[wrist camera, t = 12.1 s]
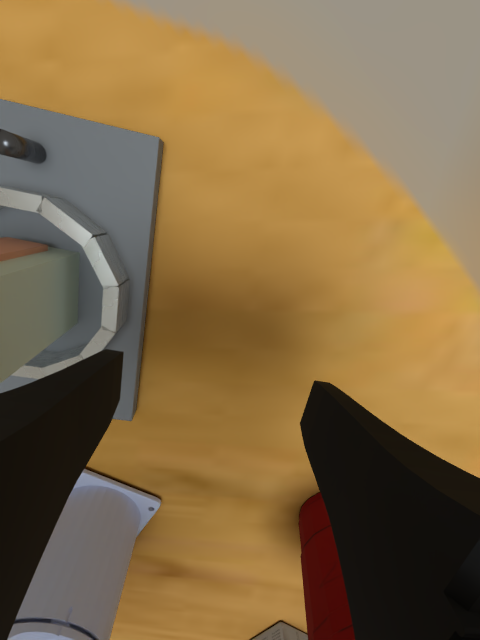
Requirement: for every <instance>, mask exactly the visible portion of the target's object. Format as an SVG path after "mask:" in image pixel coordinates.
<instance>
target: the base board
mask: <svg viewBox="0 0 480 640" xmlns="http://www.w3.org/2000/svg"><path fill="white" fill-rule="evenodd" d="M0 129H3V130H6V131H8V132H11V133H14V134H16V135H19V136H22V137H24V138H27V139H30V140H32V141H35V142H38V143H40V144H41V145H42V146H43V147H44V148H45V150H46V155H47V156H46V160H45V161H44V162H43V163H41V164H36V163H32V162H28V161H24V160H20V159H16V158H13V157H9V156H5V155H1V154H0V186H7V187H13V188H18V189H23V190H28V191H32V192H37V193H42V194H47V195H52V196H56V197H61V198H63V199H66V200H67V201H68V202H70V203H71V204H72V205H73V206H75V207H76V208H77V209H79V210H80V211H81V212H82V213H84V214H85V215H86V216H87V217H89V218H90V219H91V220H92V221H94V222H95V223H96V224H97V225H99V226H100V227H101V228H103V229H104V230H105V231H106V232H107V233H106V235H107V234H109V236H110V238H111V240H112V242H113V244H114V246H115V248H116V250H117V252H118V255H119V257H120V259H121V261H122V263H123V265H124V267H125V269H126V271H127V273H128V275H129V278H128V279H130V283H129V295H128V308H127V320H126V322H125V323H124V324H123V325H122V327H121V328H120V329H119V330H118V332H117V333H116V334H115V335H114V337H113V338H112V339H111V340H110V342H109V343H108V344H107V345H106V347H105V348H104V349H103V350H105V349H109V350H116V351H122V352H124V355H123V368H122V381H121V393H120V401H119V403H118V406H117V408H116V411H115V413H114V416H113V418H112V419H119V420H127V421H132V419H133V416H134V414H135V412H136V407H137V397H138V387H139V377H140V368H141V358H142V348H143V338H144V329H145V319H146V309H147V299H148V289H149V280H150V270H151V260H152V250H153V241H154V231H155V221H156V211H157V202H158V192H159V182H160V172H161V163H162V153H163V141H162V140H161V139H160V138H159V137H155V136H151V135H147V134H142V133H138V132H134V131H130V130H126V129H122V128H118V127H114V126H109V125H105V124H101V123H97V122H93V121H89V120H85V119H81V118H76V117H72V116H68V115H64V114H60V113H56V112H52V111H48V110H43V109H39V108H35V107H31V106H27V105H23V104H19V103H15V102H10V101H6V100H2V99H0ZM0 237H10V238H15V239H20V240H25V241H31V242H36V243H41V244H46V245H48V247H53V248H58V249H64V250H69V251H74V252H79V253H80V260H79V292H78V323H77V324H76V325H75V326H73V327H72V328H71V329H69V330H68V331H67V332H66V333H64V334H63V335H62V336H60V337H59V338H58V339H57V340H55V341H54V342H53V343H51V344H50V345H49V346H48V347H46V348H45V349H44V350H48V351H55V352H62V351H65V350H68V349H71V348H74V347H77V346H80V345H83V344H86V343H89V342H90V341H91V339H92V338H93V337H94V336H95V334H96V333H97V332H98V331H99V329H100V328H101V320H102V300H103V286H102V284H101V282H100V280H99V279H98V277H97V275H96V273H95V271H94V269H93V267H92V265H91V263H90V261H89V259H88V257H87V255H86V253H85V251H84V250H83V248H82V246H81V245H80V244H79V243H78V242H76V241H75V240H74V239H72V238H71V237H70V236H68V235H67V234H66V233H64V232H63V231H62V230H60V229H59V228H58V227H56V226H55V225H54V224H53V223H51V222H50V221H49V220H47V219H46V218H45V217H43V216H42V215H41V214H39V213H36V212H31V211H26V210H21V209H16V208H11V207H4V208H2V209H0ZM36 380H38V379H34V378H27V377H19V376H12V375H10V376H9V377H8V378H6V379H5V380H4V381H3V382H1V383H0V393H3V392H6V391H9V390H12V389H15V388H18V387H21V386H23V385H26V384H29V383H31V382H34V381H36Z"/></svg>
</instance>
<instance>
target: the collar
mask: <svg viewBox="0 0 480 640" xmlns="http://www.w3.org/2000/svg"><path fill="white" fill-rule="evenodd" d="M0 154H1V155H5V156H9V157H13V158H16V159H20V160H24V161H28V162H32V163H36V164H41V163H43V162H44V161H45V160H46V156H47V155H46V150H45V148H44V147H43V146H42V145H41V144H40V143H38V142H35V141H32V140H30V139H27V138H24V137H22V136H19V135H16V134H14V133H11V132H8V131H6V130H3V129H0ZM4 207H11V208H16V209H21V210H26V211H31V212H36V213H39V214H41V215H42V216H43V217H45V218H46V219H47V220H49V221H50V222H51V223H53V224H54V225H55V226H56V227H58V228H59V229H60V230H62V231H63V232H64V233H66V234H67V235H68V236H70V237H71V238H72V239H74V240H75V241H76V242H78V243H79V244H80V245H81V246H82V248H83V250H84V251H85V253H86V255H87V257H88V259H89V261H90V263H91V265H92V267H93V269H94V271H95V273H96V275H97V277H98V279H99V280H100V282H101V284H102V286H103V300H102V320H101V328H100V329H99V331H98V332H97V333H96V334H95V336H94V337H93V338H92V339H91V341H90V342H89V343H86V344H83V345H80V346H77V347H74V348H71V349H68V350H65V351H62V352H55V351H48V350H42V351H41V352H40V353H39V354H37V355H36V356H35V357H33V358H32V359H31V360H30V361H28V362H27V363H26V364H24V365H23V366H22V367H21V368H19V369H18V370H17V371H15V372H14V373H13V374H12V376H19V377H27V378H34V379H41V378H43V377H46V376H48V375H50V374H53V373H55V372H57V371H60V370H62V369H64V368H66V367H68V366H71V365H73V364H75V363H77V362H79V361H81V360H83V359H85V358H87V357H89V356H92V355H94V354H96V353H98V352H100V351H102V350H103V349H104V348H105V347H106V345H107V344H108V343H109V342H110V340H111V339H112V338H113V337H114V335H115V334H116V333H117V332H118V330H119V329H120V328H121V327H122V325H123V324H124V323H125V322H126V320H127V308H128V295H129V283H130V279H128V278H129V275H128V273H127V271H126V269H125V267H124V265H123V263H122V261H121V259H120V257H119V255H118V252H117V250H116V248H115V246H114V244H113V242H112V240H111V238H110V236H109V234H107V235H106V233H107V232H106V231H105V230H104V229H103V228H101V227H100V226H99V225H97V224H96V223H95V222H94V221H92V220H91V219H90V218H89V217H87V216H86V215H85V214H84V213H82V212H81V211H80V210H79V209H77V208H76V207H75V206H73V205H72V204H71V203H70V202H68V201H67V200H66V199H63V198H61V197H56V196H52V195H47V194H42V193H37V192H32V191H28V190H23V189H18V188H13V187H7V186H0V209H2V208H4Z"/></svg>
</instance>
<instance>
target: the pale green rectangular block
mask: <svg viewBox="0 0 480 640" xmlns="http://www.w3.org/2000/svg"><path fill="white" fill-rule="evenodd" d="M79 260H80V253H79V252H74V251H69V250H64V249H58V248H53V247H48V245H46V244H41V243H36V242H31V241H25V240H20V239H15V238H10V237H0V383H1V382H3V381H4V380H5V379H6V378H8V377H9V376H10V375H12V374H13V373H14V372H15V371H17V370H18V369H19V368H21V367H22V366H23V365H24V364H26V363H27V362H28V361H30V360H31V359H32V358H33V357H35V356H36V355H37V354H39V353H40V352H41V351H42V350H44V349H45V348H46V347H48V346H49V345H50V344H51V343H53V342H54V341H55V340H57V339H58V338H59V337H60V336H62V335H63V334H64V333H66V332H67V331H68V330H69V329H71V328H72V327H73V326H75V325H76V324H77V323H78V292H79Z"/></svg>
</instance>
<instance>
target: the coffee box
mask: <svg viewBox="0 0 480 640" xmlns="http://www.w3.org/2000/svg"><path fill="white" fill-rule="evenodd" d="M252 640H308V635H307V634H305V633H303V632H301V631H299V630H297V629H295V628H293V627H291V626H289V625H287V624H285V623H283V622H279V623H278V624H276V625H274V626H273V627H271V628H270V629H268V630H266V631H265V632H263V633H262V634H260V635H258V636H257V637H255V638H254V639H252Z"/></svg>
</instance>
